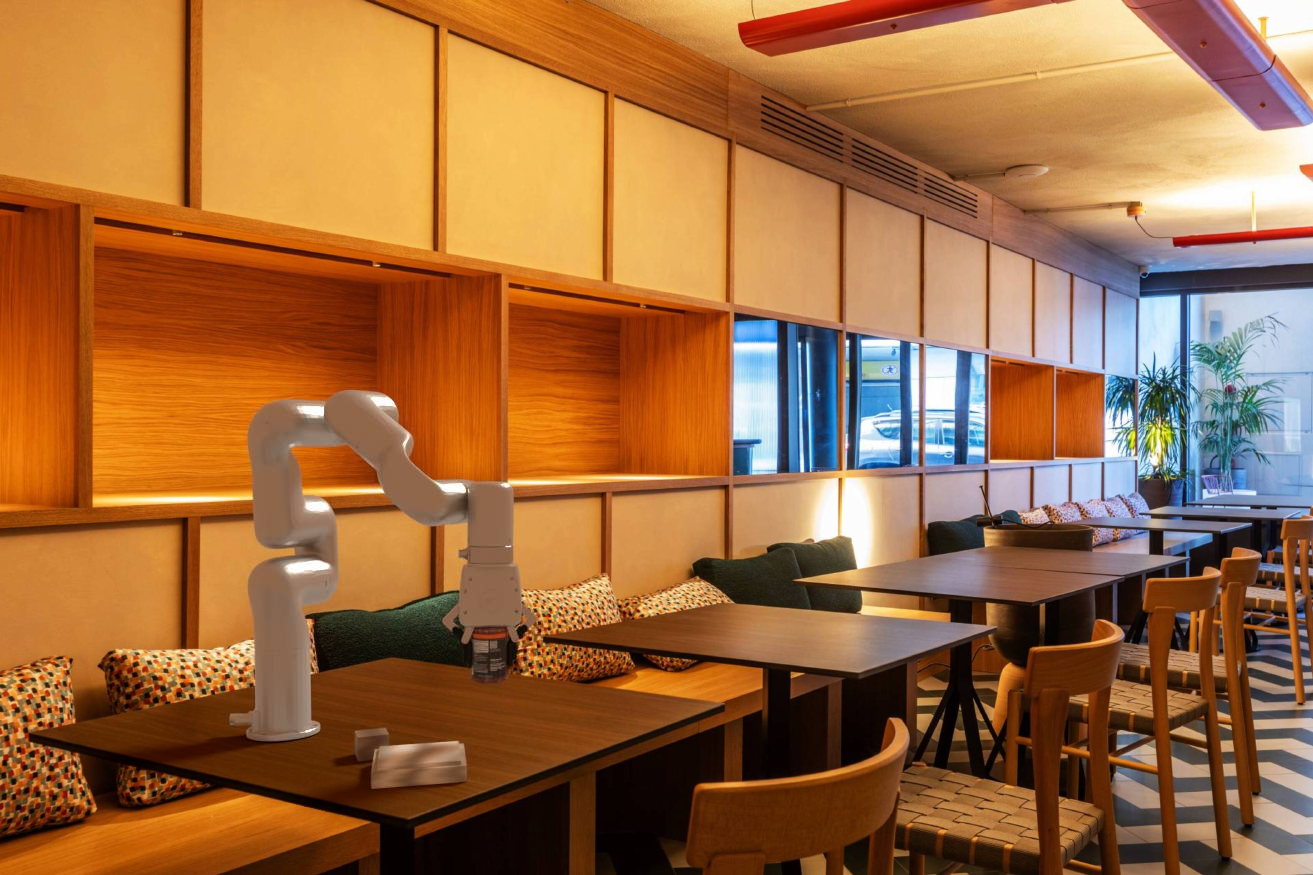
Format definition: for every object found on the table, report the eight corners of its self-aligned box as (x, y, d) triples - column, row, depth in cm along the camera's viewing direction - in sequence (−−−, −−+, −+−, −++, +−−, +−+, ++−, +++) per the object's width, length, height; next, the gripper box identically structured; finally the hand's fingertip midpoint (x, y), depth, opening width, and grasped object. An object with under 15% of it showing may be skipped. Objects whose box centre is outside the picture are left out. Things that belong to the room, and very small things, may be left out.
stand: (371, 788, 169) (370, 768, 169) (375, 764, 182) (374, 745, 182) (467, 781, 172) (466, 761, 172) (463, 757, 185) (463, 739, 185)
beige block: (358, 762, 185) (357, 737, 185) (354, 754, 189) (354, 730, 189) (389, 758, 186) (389, 734, 186) (385, 751, 191) (385, 727, 191)
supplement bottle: (490, 675, 192) (491, 608, 192) (515, 680, 188) (516, 611, 188) (463, 681, 187) (464, 612, 187) (488, 686, 183) (489, 615, 184)
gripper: (437, 559, 182) (436, 672, 182) (545, 557, 186) (544, 668, 186) (436, 554, 190) (436, 663, 190) (540, 553, 193) (539, 659, 193)
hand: (489, 664), depth 188 cm, fingers closed on supplement bottle, 6 cm apart
